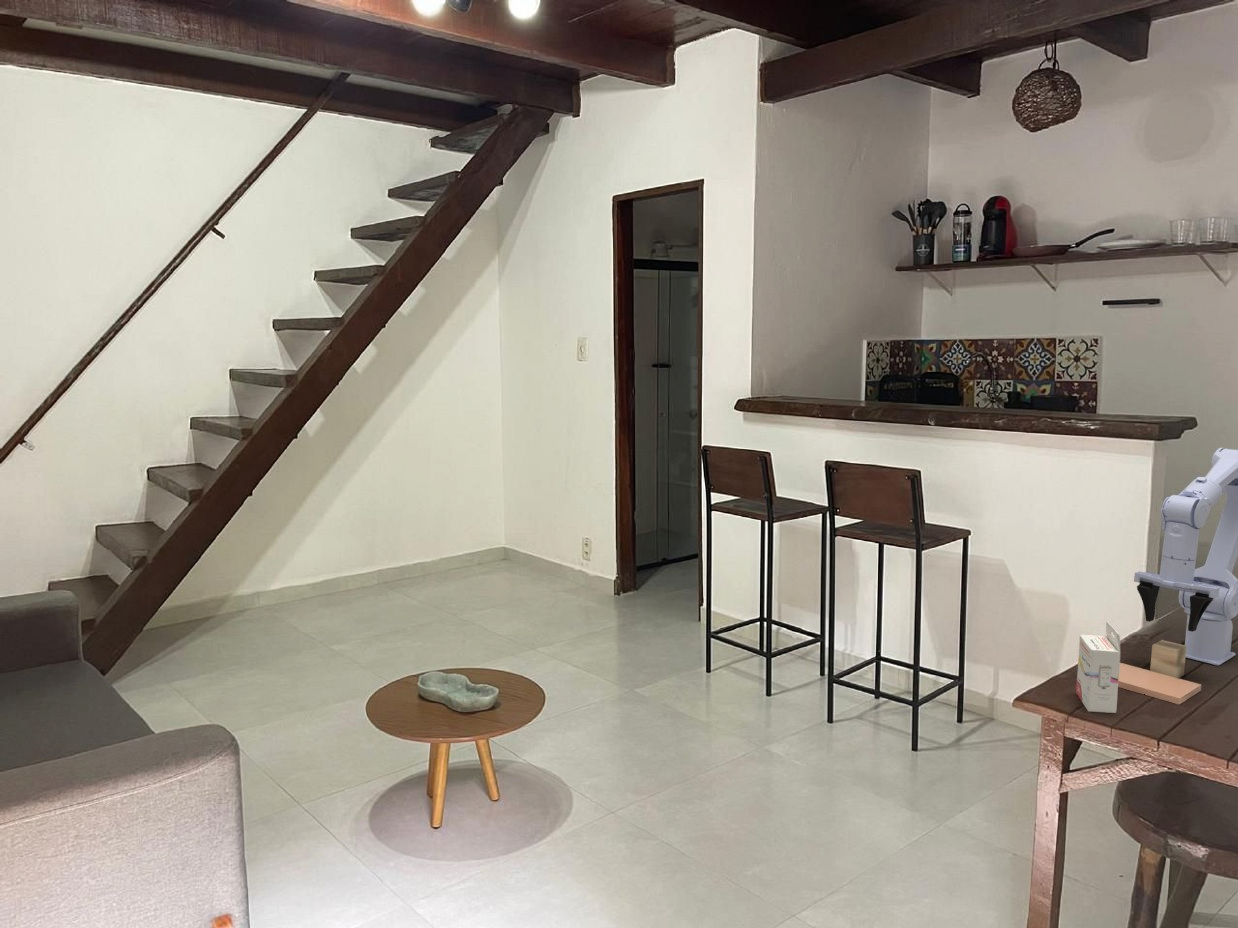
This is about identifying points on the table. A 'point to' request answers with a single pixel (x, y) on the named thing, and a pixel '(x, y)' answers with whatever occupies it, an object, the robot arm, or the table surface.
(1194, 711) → the table surface
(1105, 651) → the ink cartridge box
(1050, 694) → the table surface
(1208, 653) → the robot arm
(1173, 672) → the maple block
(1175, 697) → the terracotta tile
